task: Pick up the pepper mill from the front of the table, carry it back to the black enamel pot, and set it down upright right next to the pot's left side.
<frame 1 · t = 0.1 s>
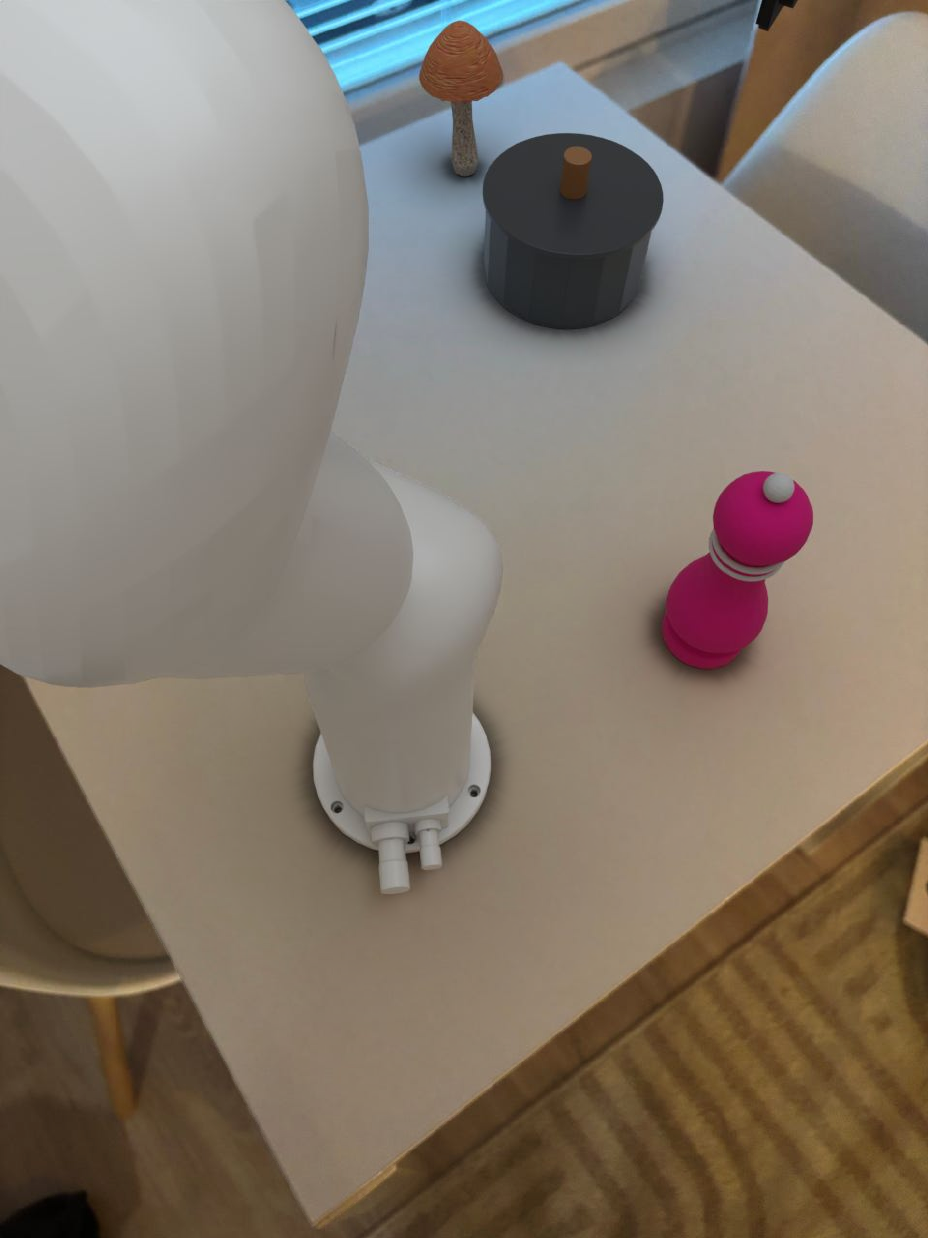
dish: (183, 418, 82), on the table
pan lid: (572, 195, 84), point 8 cm above the table, touching pot
pot: (562, 271, 91), on the table
pepper mill: (701, 634, 73), on the table
mushroom: (460, 170, 98), on the table
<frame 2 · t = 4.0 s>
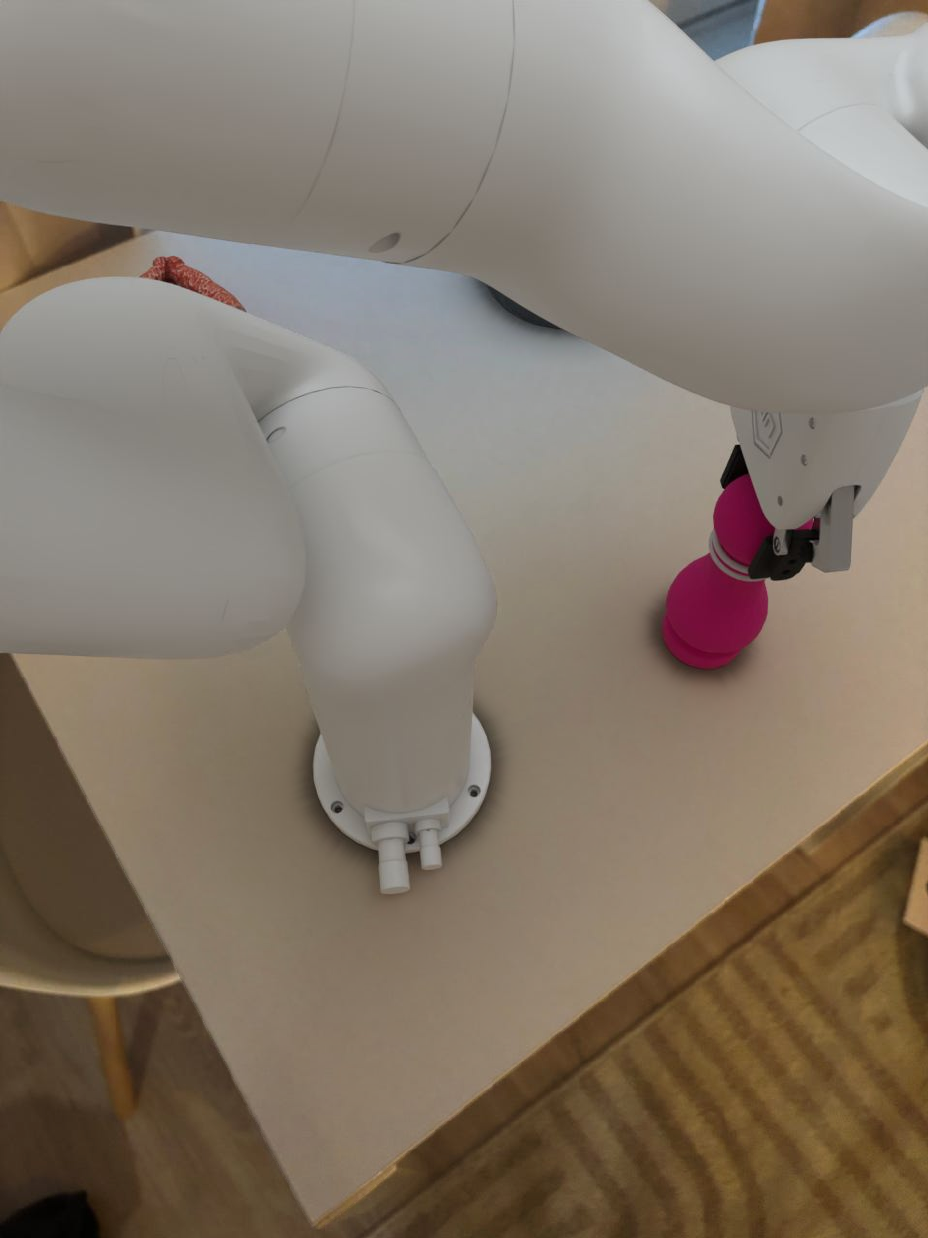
hand: (758, 526, 60), 15 cm above the table, tool pointing down, fingers closed on pepper mill, 6 cm apart
pepper mill: (701, 634, 73), on the table, touching gripper
everything else where it was.
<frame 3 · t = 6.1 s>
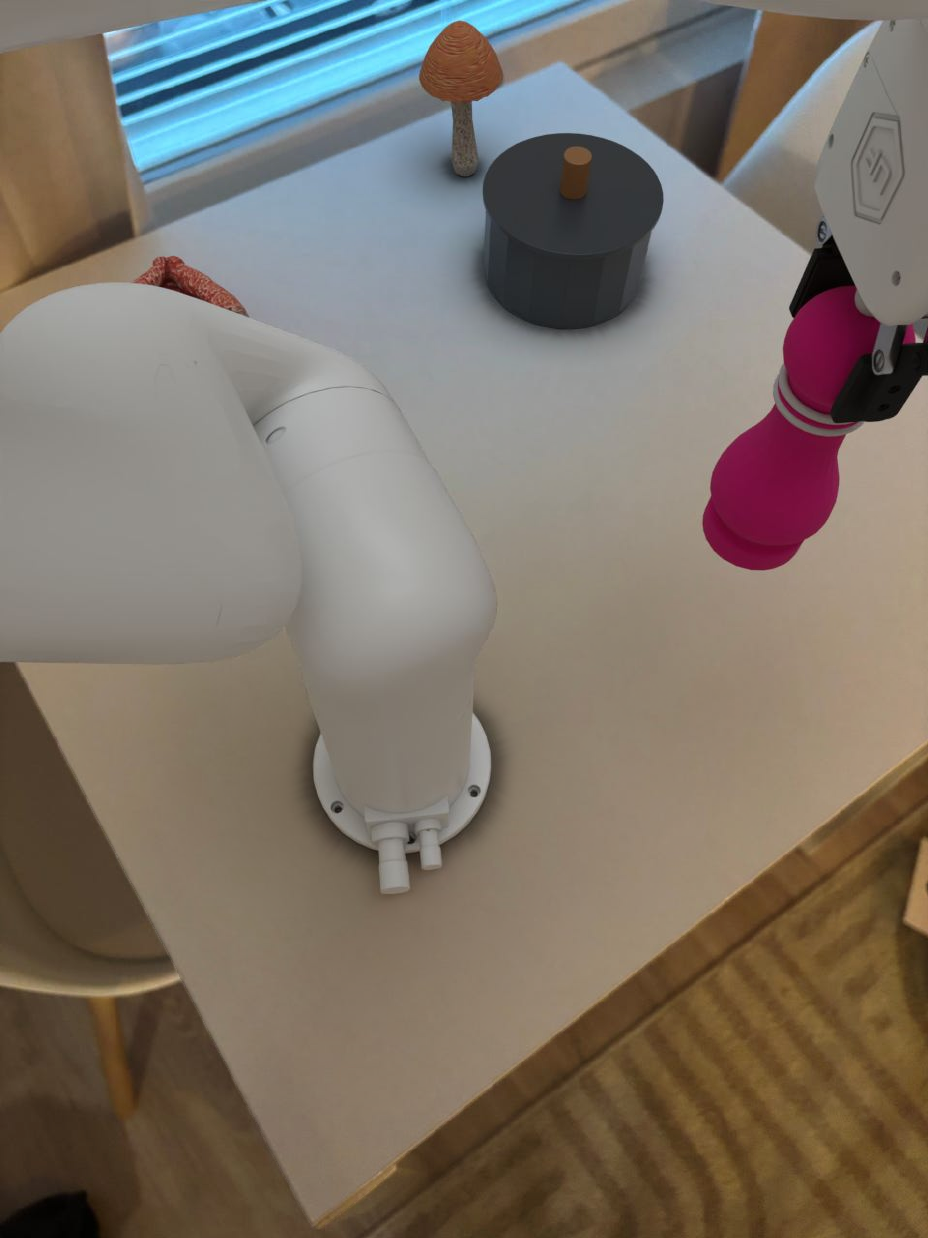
hand: (840, 361, 46), 30 cm above the table, tool pointing down, fingers closed on pepper mill, 6 cm apart
pepper mill: (749, 531, 60), point 15 cm above the table, touching gripper
everything else where it was.
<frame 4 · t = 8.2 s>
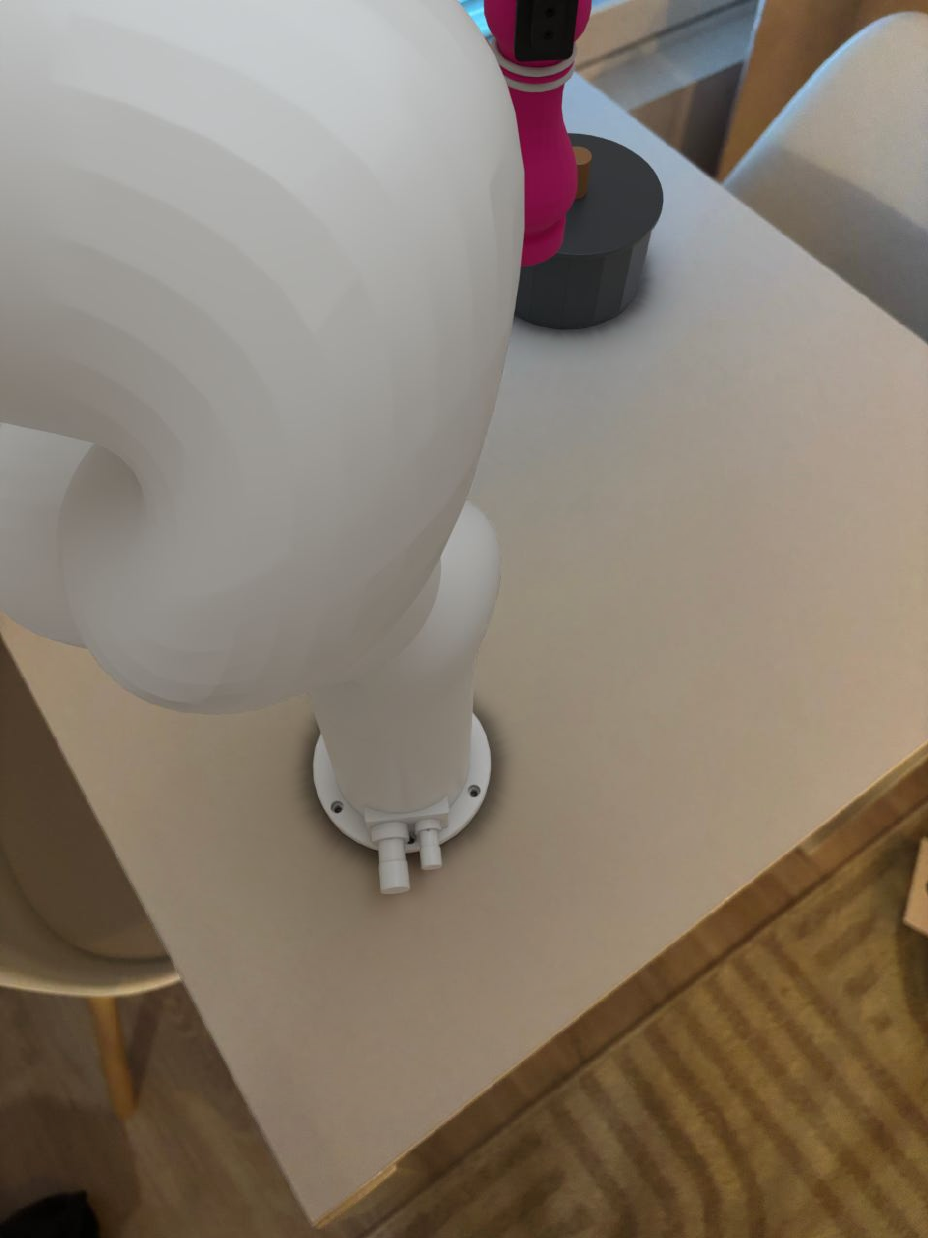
hand: (534, 17, 53), 34 cm above the table, tool pointing down, fingers closed on pepper mill, 6 cm apart
pepper mill: (518, 238, 67), point 19 cm above the table, touching gripper
everything else where it was.
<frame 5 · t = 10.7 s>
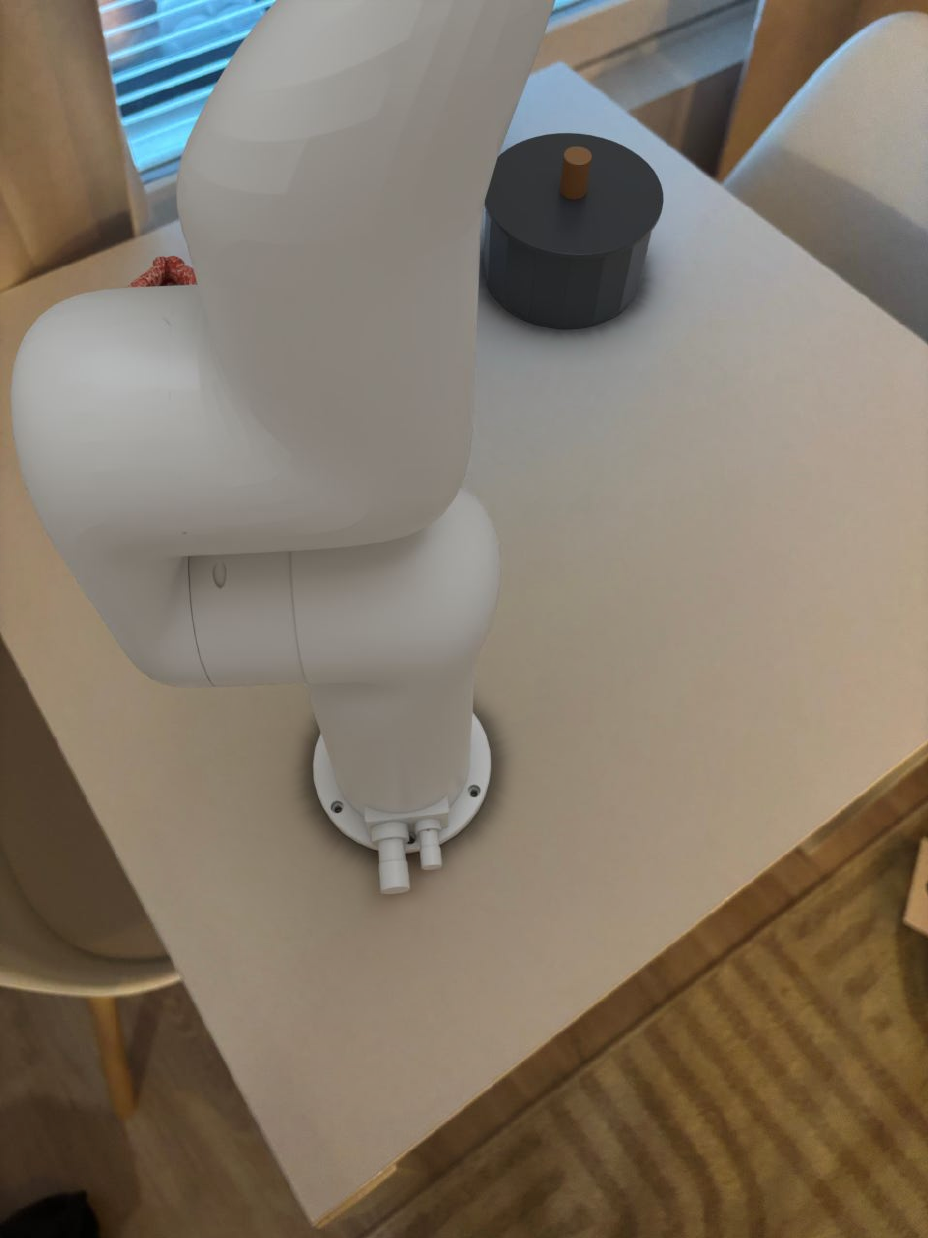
hand: (371, 70, 72), 21 cm above the table, tool pointing down, fingers closed on pepper mill, 6 cm apart
pepper mill: (384, 234, 85), point 6 cm above the table, touching gripper
everything else where it was.
when the fingers open (15 cm above the table, at t = 12.7 s): pepper mill stays where it is, on the table.
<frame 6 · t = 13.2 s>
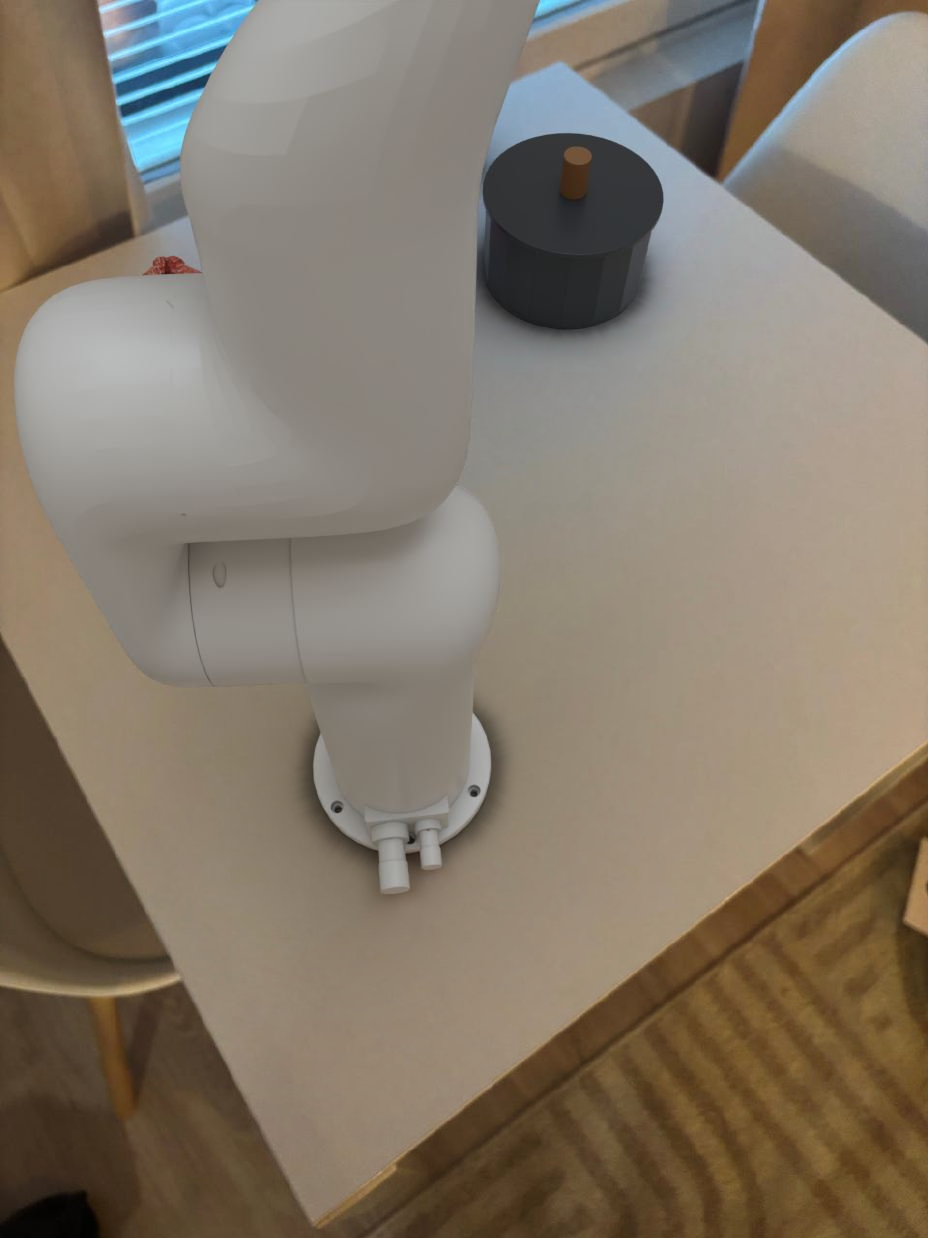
hand: (375, 128, 76), 16 cm above the table, tool pointing down, fingers open, 9 cm apart
pepper mill: (388, 287, 90), on the table
everything else where it was.
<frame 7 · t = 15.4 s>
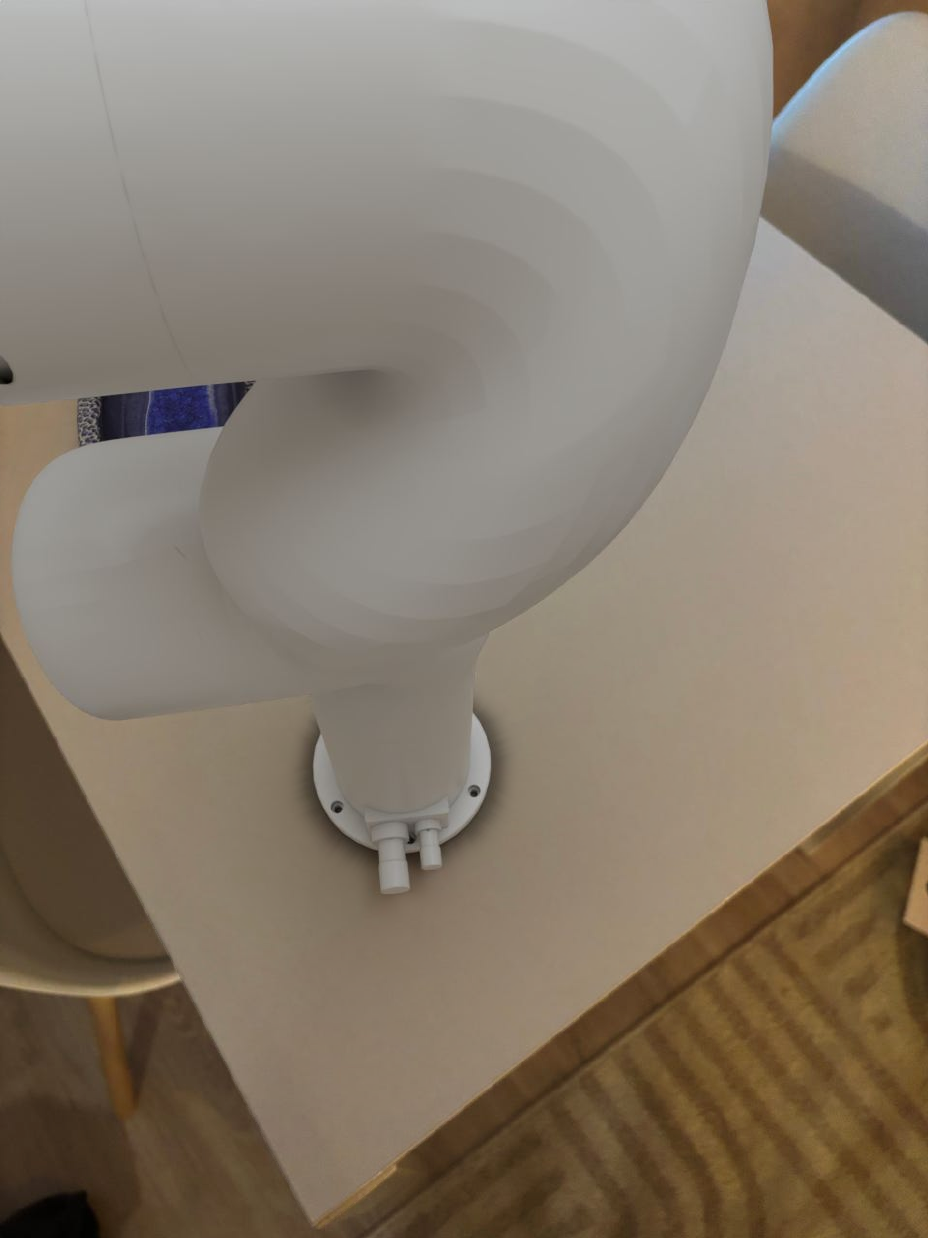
nothing on the table moved.
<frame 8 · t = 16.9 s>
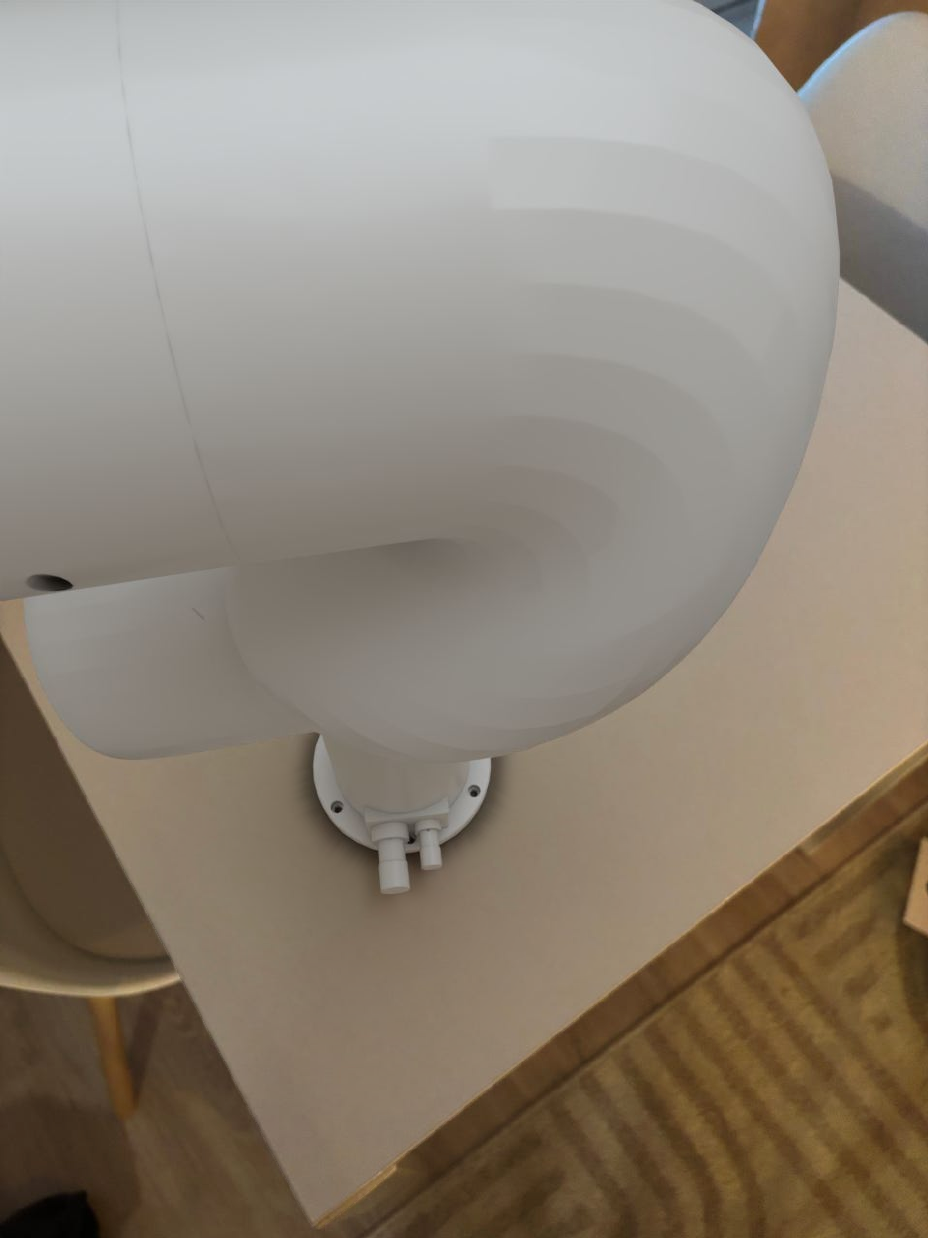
nothing on the table moved.
at the end: pepper mill inside the target area on the table beside the pot (0.1 cm from its centre), on the table; pepper mill tilted 0°; the gripper is holding nothing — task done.
